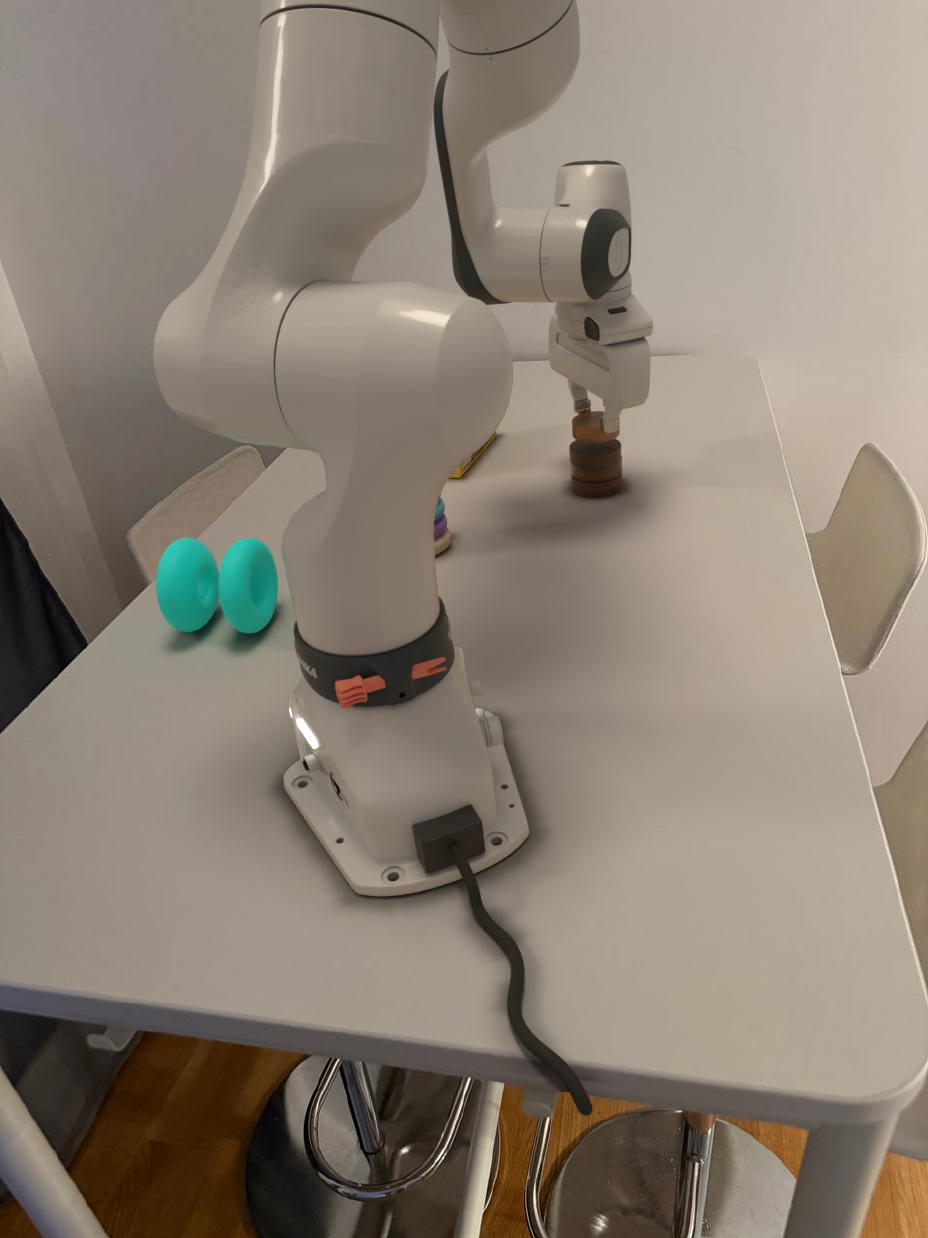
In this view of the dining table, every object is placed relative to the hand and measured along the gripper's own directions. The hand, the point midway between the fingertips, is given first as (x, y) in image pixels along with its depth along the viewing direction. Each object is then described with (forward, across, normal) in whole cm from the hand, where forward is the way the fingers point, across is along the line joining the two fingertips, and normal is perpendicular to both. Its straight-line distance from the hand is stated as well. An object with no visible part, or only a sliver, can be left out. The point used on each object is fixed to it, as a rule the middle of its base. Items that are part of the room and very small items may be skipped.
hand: (595, 421), depth 116 cm
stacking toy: (+9, +4, -26) cm, 28 cm away
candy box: (+9, -19, -10) cm, 23 cm away
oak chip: (+2, 0, 0) cm, 2 cm away
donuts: (+9, +11, -50) cm, 52 cm away
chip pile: (+9, 0, 0) cm, 9 cm away
